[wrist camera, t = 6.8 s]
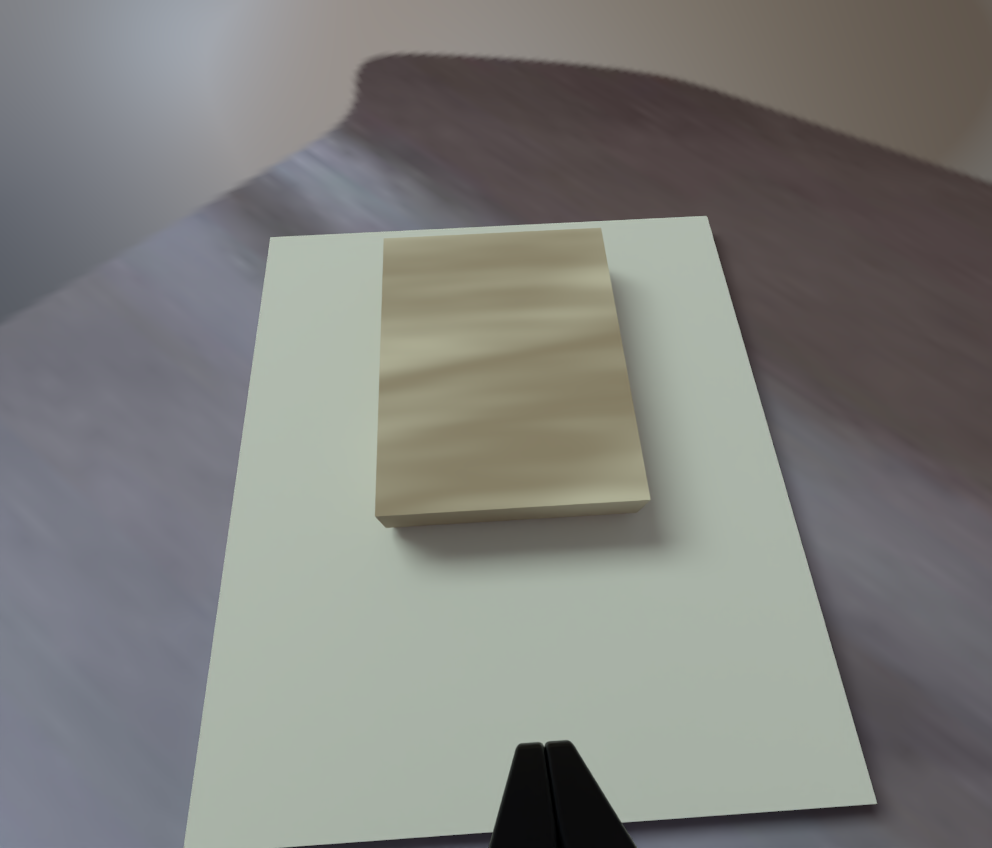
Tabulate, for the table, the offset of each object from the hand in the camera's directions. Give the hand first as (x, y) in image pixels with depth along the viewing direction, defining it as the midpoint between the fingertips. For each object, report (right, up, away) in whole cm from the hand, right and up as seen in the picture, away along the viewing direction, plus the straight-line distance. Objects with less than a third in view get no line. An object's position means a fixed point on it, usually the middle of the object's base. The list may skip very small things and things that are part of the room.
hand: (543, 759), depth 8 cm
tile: (0, +3, +6) cm, 6 cm away
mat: (0, +4, +8) cm, 9 cm away
